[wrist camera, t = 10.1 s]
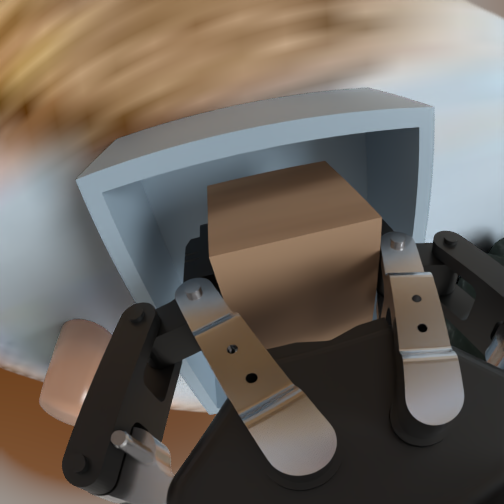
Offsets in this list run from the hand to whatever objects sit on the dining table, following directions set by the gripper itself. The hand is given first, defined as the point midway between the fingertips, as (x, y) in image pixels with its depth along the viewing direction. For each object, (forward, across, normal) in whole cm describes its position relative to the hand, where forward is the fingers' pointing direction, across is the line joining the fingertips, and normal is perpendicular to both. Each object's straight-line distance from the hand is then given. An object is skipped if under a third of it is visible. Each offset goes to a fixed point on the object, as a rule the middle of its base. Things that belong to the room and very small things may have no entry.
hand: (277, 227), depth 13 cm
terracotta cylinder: (+4, +16, +9) cm, 19 cm away
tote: (+4, 0, +4) cm, 6 cm away
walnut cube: (0, 0, 0) cm, 1 cm away
